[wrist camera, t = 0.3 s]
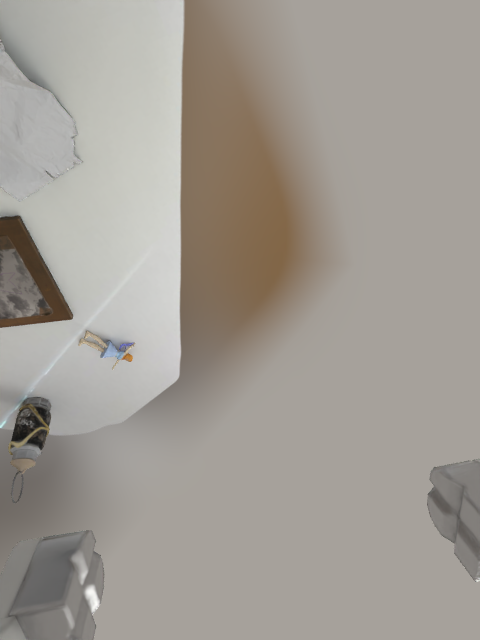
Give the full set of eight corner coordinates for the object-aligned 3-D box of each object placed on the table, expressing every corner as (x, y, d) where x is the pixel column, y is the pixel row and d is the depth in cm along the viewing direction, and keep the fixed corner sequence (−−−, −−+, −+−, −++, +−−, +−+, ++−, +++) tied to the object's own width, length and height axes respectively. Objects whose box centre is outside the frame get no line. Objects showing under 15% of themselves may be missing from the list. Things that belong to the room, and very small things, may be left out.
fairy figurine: (90, 332, 77) (143, 354, 82) (96, 316, 80) (145, 338, 86) (69, 360, 83) (119, 379, 88) (75, 344, 86) (122, 363, 92)
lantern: (16, 395, 96) (-13, 498, 80) (50, 394, 98) (29, 494, 81) (25, 412, 102) (0, 510, 86) (57, 410, 104) (38, 506, 88)
